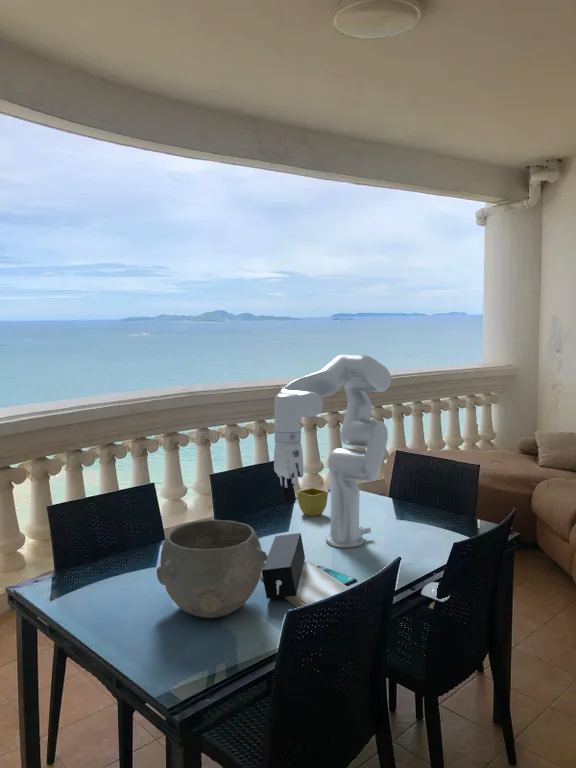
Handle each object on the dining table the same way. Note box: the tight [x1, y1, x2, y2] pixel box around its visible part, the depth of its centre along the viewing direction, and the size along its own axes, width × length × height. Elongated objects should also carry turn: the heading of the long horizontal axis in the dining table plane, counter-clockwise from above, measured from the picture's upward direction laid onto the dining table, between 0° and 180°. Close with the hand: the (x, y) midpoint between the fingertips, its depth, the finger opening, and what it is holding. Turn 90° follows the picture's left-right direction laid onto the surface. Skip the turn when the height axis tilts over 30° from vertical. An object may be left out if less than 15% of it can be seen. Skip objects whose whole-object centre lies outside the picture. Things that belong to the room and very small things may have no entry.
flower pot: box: [296, 487, 329, 518], centre depth 236 cm, size 9×9×9 cm
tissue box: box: [262, 532, 306, 600], centre depth 170 cm, size 8×8×28 cm
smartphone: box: [317, 565, 358, 587], centre depth 177 cm, size 7×1×15 cm
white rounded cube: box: [420, 581, 450, 603], centre depth 166 cm, size 7×7×8 cm
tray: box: [260, 560, 350, 608], centre depth 168 cm, size 16×28×2 cm, turn 29°
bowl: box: [156, 519, 268, 619], centre depth 156 cm, size 27×29×20 cm
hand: (287, 499), depth 177 cm, fingers closed
